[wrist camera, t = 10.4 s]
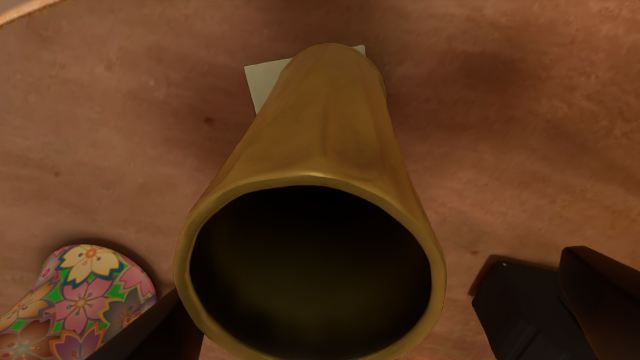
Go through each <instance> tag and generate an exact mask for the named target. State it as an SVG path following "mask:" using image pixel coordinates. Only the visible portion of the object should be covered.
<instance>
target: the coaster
mask: <svg viewBox="0 0 640 360" xmlns="http://www.w3.org/2000/svg"><path fill="white" fill-rule="evenodd" d="M352 48H354V49H356V50H358V51H360V52H361V53H362V54H364V55H365V47H364V45H359V46H354V47H352ZM365 56H366V55H365ZM291 59H292V58H288V59H282V60H277V61H271V62H266V63H261V64H255V65H250V66H245V67H244V70H245V74H246V78H247V82H248V85H249V89H250V93H251V97H252V100H253V104H254V108H255V111H256V115H257V114H258V113H259V111H260V109H261V108H262V106H263V104H264V103H265V101H266V99H267V97H268V96H269V94H270V92H271V90H272V89H273V87H274V85H275V83H276V82H277V80H278V78H279V75H280V72H281V71H282V70H283V68H284V67H285V66H286V65H287V64H288V63H289V62H290V61H291Z"/></svg>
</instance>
